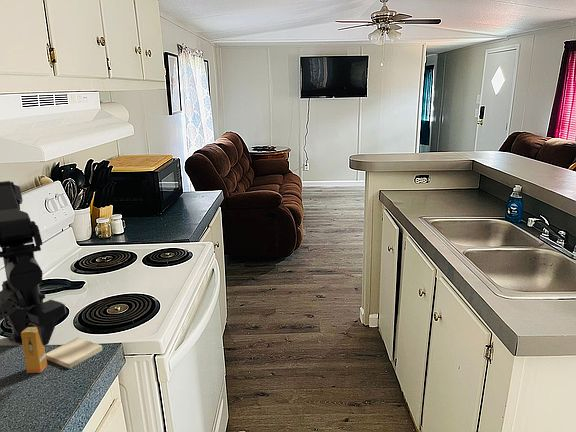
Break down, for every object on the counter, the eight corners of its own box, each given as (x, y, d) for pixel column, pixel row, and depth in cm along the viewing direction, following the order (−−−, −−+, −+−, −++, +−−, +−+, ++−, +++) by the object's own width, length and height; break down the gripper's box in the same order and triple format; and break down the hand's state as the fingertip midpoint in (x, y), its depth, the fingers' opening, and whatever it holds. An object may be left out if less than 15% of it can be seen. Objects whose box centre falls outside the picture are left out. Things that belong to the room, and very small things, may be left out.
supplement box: (48, 364, 103) (42, 325, 101) (41, 373, 100) (34, 333, 97) (34, 365, 103) (27, 325, 101) (26, 373, 100) (19, 333, 97)
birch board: (45, 358, 105) (44, 354, 105) (78, 341, 113) (77, 337, 113) (69, 368, 101) (69, 364, 101) (102, 350, 109) (102, 345, 109)
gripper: (-43, 280, 93) (-29, 346, 97) (9, 297, 85) (22, 369, 88) (10, 263, 103) (21, 324, 107) (62, 277, 94) (72, 343, 98)
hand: (32, 339), depth 100 cm, fingers open, 9 cm apart
